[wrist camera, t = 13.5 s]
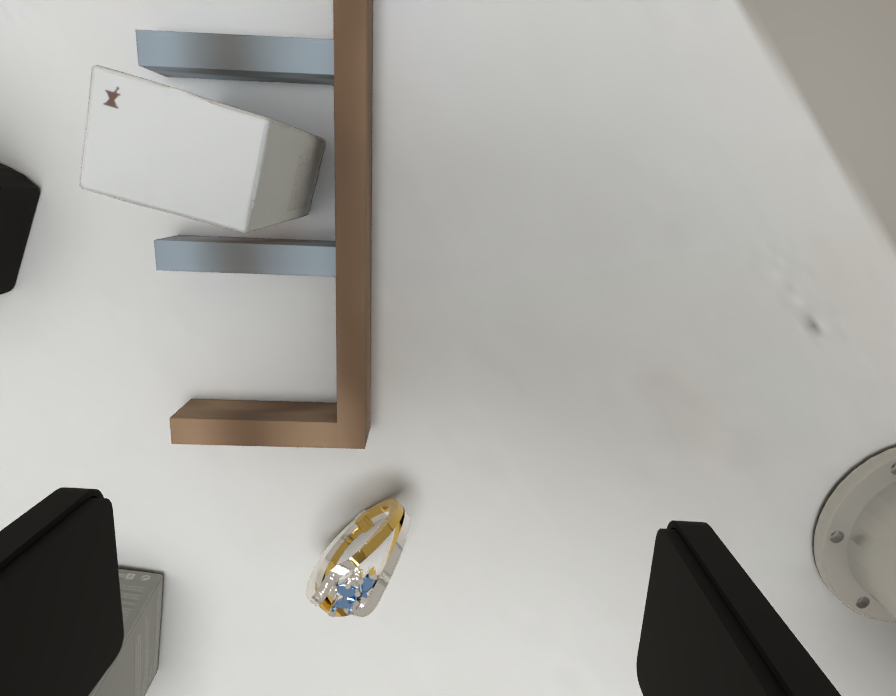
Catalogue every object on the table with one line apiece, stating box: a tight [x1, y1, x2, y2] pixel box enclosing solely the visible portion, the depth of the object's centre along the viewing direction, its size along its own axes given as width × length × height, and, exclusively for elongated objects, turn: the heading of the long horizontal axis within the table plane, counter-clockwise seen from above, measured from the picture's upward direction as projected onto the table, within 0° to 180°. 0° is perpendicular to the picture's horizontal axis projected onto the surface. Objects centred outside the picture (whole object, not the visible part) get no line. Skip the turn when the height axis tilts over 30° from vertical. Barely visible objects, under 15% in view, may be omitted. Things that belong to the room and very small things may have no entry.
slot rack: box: [136, 0, 373, 449], centre depth 30 cm, size 10×30×3 cm, turn 178°
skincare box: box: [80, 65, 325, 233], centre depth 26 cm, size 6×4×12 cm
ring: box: [306, 499, 410, 617], centre depth 34 cm, size 7×3×8 cm, turn 127°
